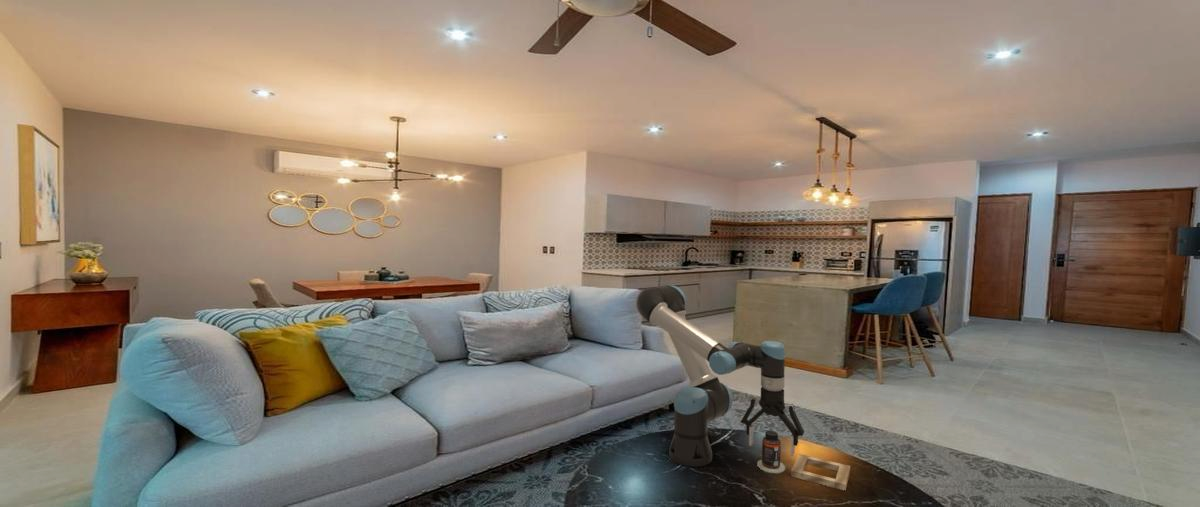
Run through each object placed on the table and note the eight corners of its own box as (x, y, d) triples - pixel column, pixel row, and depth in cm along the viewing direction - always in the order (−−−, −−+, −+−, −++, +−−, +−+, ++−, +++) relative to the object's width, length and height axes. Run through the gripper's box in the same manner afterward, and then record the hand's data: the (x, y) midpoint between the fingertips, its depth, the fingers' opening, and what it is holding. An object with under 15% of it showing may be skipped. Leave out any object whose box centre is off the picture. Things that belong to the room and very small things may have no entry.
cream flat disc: (754, 468, 162) (754, 467, 162) (761, 458, 169) (761, 456, 169) (781, 476, 157) (781, 474, 157) (787, 465, 164) (787, 463, 164)
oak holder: (790, 476, 157) (791, 470, 157) (799, 459, 168) (799, 453, 168) (845, 490, 148) (845, 484, 148) (850, 471, 160) (850, 465, 160)
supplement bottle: (781, 470, 159) (782, 437, 159) (763, 468, 161) (763, 435, 160) (778, 461, 165) (779, 429, 165) (760, 460, 166) (761, 428, 166)
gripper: (732, 384, 165) (731, 444, 166) (810, 398, 152) (808, 463, 153) (739, 378, 172) (738, 436, 173) (814, 391, 158) (812, 454, 159)
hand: (771, 449), depth 163 cm, fingers open, 13 cm apart
